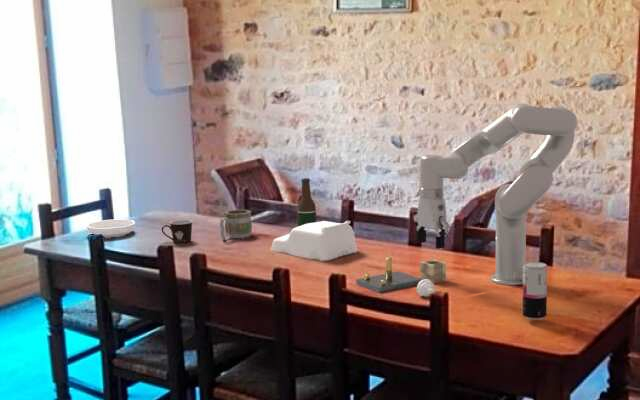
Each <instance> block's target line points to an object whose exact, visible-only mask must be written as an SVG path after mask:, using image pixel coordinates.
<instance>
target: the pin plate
mask: <svg viewBox="0 0 640 400" xmlns="http://www.w3.org/2000/svg"><path fill="white" fill-rule="evenodd" d="M355 280H356V285H358V286H361V287H363V288H366V289H369V290H370V291H374V292H376V293H384V292H389V291H390V292H391V291H395V290H400V289H404V288H410V287H415V286H418V283H419V282H420V281H421V280H422V279H420V277H417V276H415V275H411V274H407V273H405V272H402V271H399V270H398V271H394V272H393V257H386V258H385V273H384V274H383V273H382V274H377V275H373V276H371V275H370V273H365V274H364V277H362V278H356V279H355Z"/></svg>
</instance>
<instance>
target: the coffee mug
mask: <svg viewBox="0 0 640 400" xmlns="http://www.w3.org/2000/svg"><path fill="white" fill-rule="evenodd" d="M169 224H170V225H169ZM169 224H168V225H167V224H166V225H163V226H162V227H161V231H162V234H163V235H164V236H165V237H167V238H169V239H170V240H172V242H173V244H175V243H186V244H189V243H188V242H190V243H191V242H192V230H193V220H191V219H190V220H189V219H178V220H173V221H172V220H171V221H170V222H169ZM164 228H169V230H170V231H171V234H172V237H171V236H169V235H168V234H167V233H165V231H164Z"/></svg>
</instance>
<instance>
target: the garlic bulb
mask: <svg viewBox="0 0 640 400" xmlns="http://www.w3.org/2000/svg"><path fill="white" fill-rule="evenodd" d="M434 284H435V283H432V282H431V281H430V280H429V279H424V280H421V281H420V282H419V283H418V285H416V292H417V294H418V295H419V296H421V297H424V298H429V297H430V296H431V295H430V294H431V293H433V292H435V293H436V286H435V285H434ZM433 294H434V293H433Z"/></svg>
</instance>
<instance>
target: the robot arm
mask: <svg viewBox="0 0 640 400" xmlns="http://www.w3.org/2000/svg"><path fill="white" fill-rule="evenodd" d="M577 125H578V119H577V116H576V114H575V113H574V112H573V111H571V110H570V109H568V108H566V107H564V106H555V107H543V106H542V107H541V106H535V105H530V104H529V103H528V104H527V103H517V104H516V105H514V106H512V107H511V108H510V109H508V110H507V111H506V112H505V113H503V114H502V115H501V116H499V117H498V118H497V119H495V120H494V121H492V123H490V124H488V125H487V126H486V127H484V128H483V129H482V130H480V131H479V132H478V133H477V132H476V133H475V135H473V136H472V137H470V138H469V139H467V140H466V141H464V142H463V143H462V144H460V145H459V146H458V147H456V148H455V149H453V150H452V151H451V152H450V153H448V155H446V156H444V157H443V156H441V155H438V154H426V155H423V156H421V157H420V161H419V166H420V167H419V199H418V205H417V214H415V215H414V216H413V220H414V225H415V227H416V228H415V230H416V232H417V233H416V234H417V237H416V240H417V241H416V242H417V243H418V244H421V243H426V242H427V230H425V229H429V230H434V231H435V234H436V236H435V249H437V250H438V249H444V248H445V247H446V246H445V245H446V241H445V240H446V236H447V234H448V231H449V228H450V224H449V222H448V221H447V219H448V218H447V207H446V200H445V198H444V179H449V180H462V179H463V178H464V177H465V176H467V174H468V171H469V168H470V167H471V166H472V165H474V164H475V163H476V162H478V161H480V160H481V159H483V158H484V157H487V156H488V155H491V154H495V153H497V152H500V151H501V150H502V149H504V148H505V147H507V146H508V145H509V144H511V143H512V142H513V141H514V140H516V139H518V137H520V136H521V135H523V134H531V135H538V136H539V135H540V136H541V135H542V136H546V137H545V139H544V141H543V142H541V144H540V145H539V146H538V148H537V149H536V150H535V151H534V153H533V154H532V155H531V156H530V157H529V158H527V160H526V161H525V162H524V163H523V164H522V165H521V167H520V168H519V171H518V177H517V178H515V180H514V181H513V182H512V183H506V184H503V185H502V186H501V187H499V188H498V189H497V191H496V192H495V197H494V211H495V214H494V215H495V273H494V274H491V276H490V280H491V282H492V283H496V284H498V285H504V286H505V285H506V286H517V285H518V286H519V285H523V266H524V263H527V261H526V260H527V259H526V257H527V255H526V254H527V253H526V249H527V248H526V245H527V243H526V241H527V235H526V234H527V218H526V217H527V213H528V212H529V211H530V210H531V209H532V208H533V207H534V206H535V205H536V204H537V203H538V202H539V201H540V199H541V198H543V196H544V195H545V194H546V193H547V192H548V190H549V189H550V187H551V186H552V183H553V180H554V172H555V171H556V170H557V169H558V168H559V166H560V165H561V164H562V163H563V162H564V160H566V158H567V157H568V155H569V154H570V152H571V150H572V149H573V146H574V142H575V130H576V128H577Z"/></svg>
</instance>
